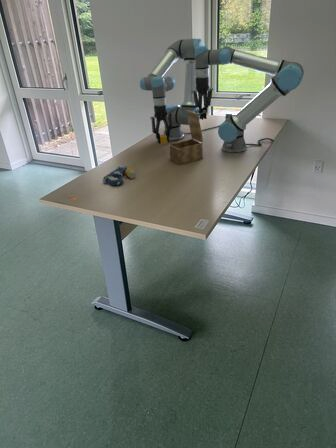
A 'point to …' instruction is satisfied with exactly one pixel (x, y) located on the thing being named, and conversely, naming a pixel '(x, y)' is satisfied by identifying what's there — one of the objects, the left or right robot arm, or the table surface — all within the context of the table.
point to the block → (163, 139)
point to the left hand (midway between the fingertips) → (163, 142)
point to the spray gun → (118, 175)
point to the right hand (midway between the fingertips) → (203, 118)
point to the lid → (195, 124)
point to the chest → (186, 151)
